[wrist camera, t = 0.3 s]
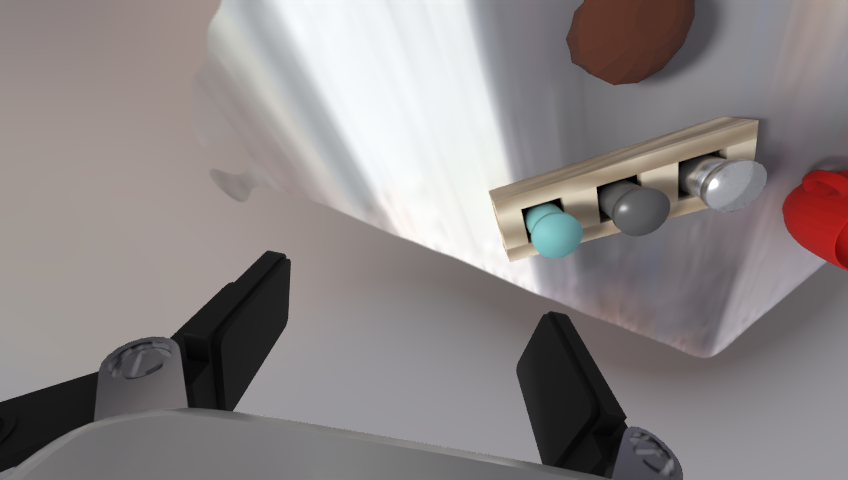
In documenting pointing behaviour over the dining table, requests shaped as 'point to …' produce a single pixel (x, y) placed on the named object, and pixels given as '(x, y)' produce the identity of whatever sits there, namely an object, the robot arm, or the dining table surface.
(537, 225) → the teal knob
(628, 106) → the dining table surface
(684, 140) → the box
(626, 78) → the muffin
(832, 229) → the ceramic cup
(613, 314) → the dining table surface
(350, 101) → the dining table surface
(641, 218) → the dark gray knob
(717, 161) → the steel knob
